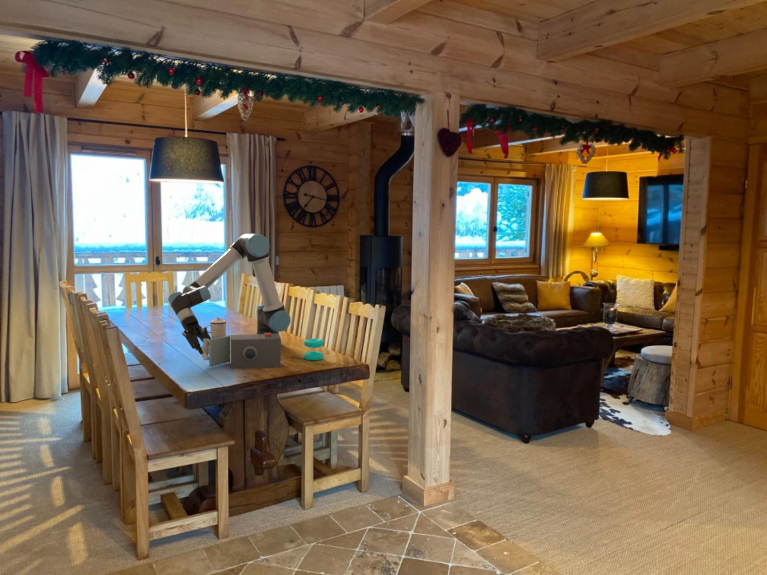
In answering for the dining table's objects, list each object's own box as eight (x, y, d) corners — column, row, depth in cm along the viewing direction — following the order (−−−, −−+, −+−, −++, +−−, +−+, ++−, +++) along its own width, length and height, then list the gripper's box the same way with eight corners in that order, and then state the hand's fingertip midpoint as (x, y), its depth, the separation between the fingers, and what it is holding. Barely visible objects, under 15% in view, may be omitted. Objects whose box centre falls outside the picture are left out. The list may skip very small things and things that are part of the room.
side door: (220, 360, 303) (220, 334, 302) (230, 362, 300) (230, 335, 298) (200, 364, 292) (200, 338, 291) (211, 367, 289) (210, 340, 287)
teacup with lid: (224, 334, 370) (224, 315, 368) (227, 337, 362) (227, 317, 361) (203, 335, 364) (203, 316, 363) (207, 338, 356) (207, 319, 355)
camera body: (230, 363, 300) (230, 332, 298) (277, 361, 306) (278, 331, 304) (231, 370, 286) (231, 338, 285) (281, 368, 292) (281, 336, 291)
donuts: (308, 337, 318) (326, 338, 315) (308, 356, 319) (326, 357, 316) (300, 340, 308) (319, 342, 306) (300, 360, 309) (319, 362, 307)
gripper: (198, 322, 308) (220, 359, 300) (170, 326, 295) (192, 365, 287) (205, 313, 304) (227, 350, 297) (177, 316, 291) (199, 356, 283)
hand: (210, 357), depth 292 cm, fingers open, 3 cm apart
